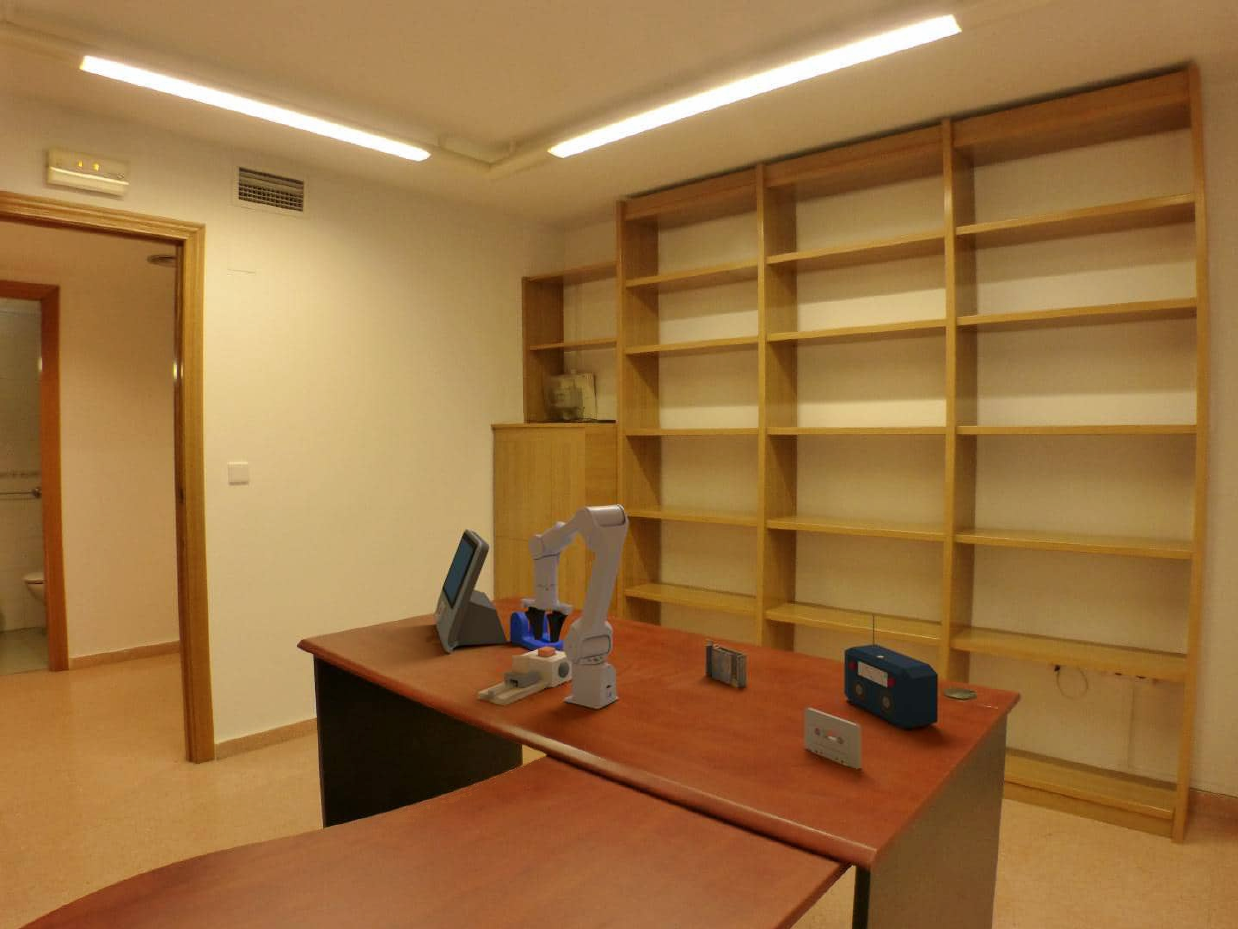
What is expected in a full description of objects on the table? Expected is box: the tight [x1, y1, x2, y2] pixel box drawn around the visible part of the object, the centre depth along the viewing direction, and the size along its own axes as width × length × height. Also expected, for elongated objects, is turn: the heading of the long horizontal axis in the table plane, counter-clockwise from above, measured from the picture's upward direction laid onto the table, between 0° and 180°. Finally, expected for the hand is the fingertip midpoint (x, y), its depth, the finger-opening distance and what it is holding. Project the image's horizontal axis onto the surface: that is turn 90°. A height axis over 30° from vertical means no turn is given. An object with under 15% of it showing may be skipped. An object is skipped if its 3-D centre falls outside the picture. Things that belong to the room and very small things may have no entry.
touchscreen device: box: [432, 529, 508, 654], centre depth 227 cm, size 35×20×30 cm, turn 18°
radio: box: [843, 612, 939, 730], centre depth 162 cm, size 21×9×20 cm, turn 21°
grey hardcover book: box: [704, 637, 747, 688], centre depth 185 cm, size 11×3×10 cm, turn 35°
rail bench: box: [477, 679, 550, 706], centre depth 177 cm, size 8×15×2 cm, turn 145°
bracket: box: [509, 610, 564, 651], centre depth 217 cm, size 18×8×9 cm, turn 36°
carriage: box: [503, 654, 539, 688], centre depth 179 cm, size 6×5×6 cm
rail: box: [488, 680, 518, 696], centre depth 177 cm, size 2×15×1 cm, turn 145°
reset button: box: [538, 646, 556, 658], centre depth 186 cm, size 3×3×2 cm
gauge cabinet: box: [520, 649, 572, 688], centre depth 186 cm, size 10×8×6 cm
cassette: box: [803, 706, 862, 770], centre depth 140 cm, size 12×2×8 cm, turn 37°
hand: (546, 640), depth 186 cm, fingers open, 4 cm apart
